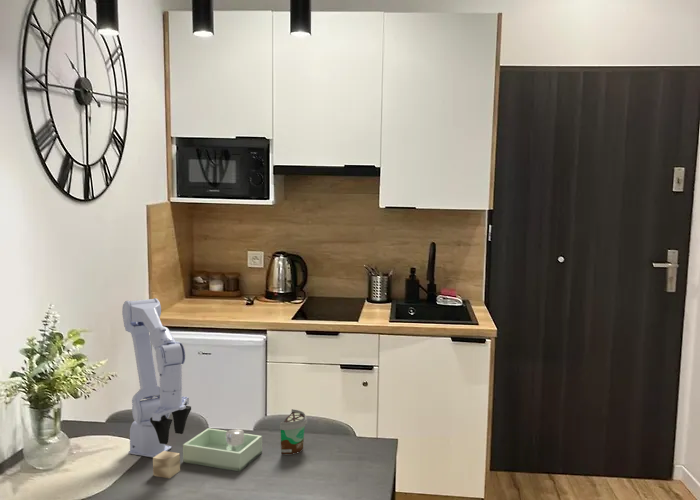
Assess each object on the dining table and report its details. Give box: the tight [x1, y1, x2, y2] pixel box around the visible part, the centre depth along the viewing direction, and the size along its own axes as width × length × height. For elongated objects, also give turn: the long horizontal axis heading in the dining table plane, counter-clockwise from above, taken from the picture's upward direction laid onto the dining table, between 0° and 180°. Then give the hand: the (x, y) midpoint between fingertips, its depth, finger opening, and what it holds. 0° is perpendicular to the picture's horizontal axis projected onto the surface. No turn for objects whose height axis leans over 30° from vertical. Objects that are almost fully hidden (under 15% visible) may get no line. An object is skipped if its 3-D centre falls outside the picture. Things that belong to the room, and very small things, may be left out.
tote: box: [182, 427, 263, 472], centre depth 196 cm, size 18×14×5 cm
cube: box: [152, 450, 181, 479], centre depth 186 cm, size 5×5×5 cm
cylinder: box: [226, 428, 245, 452], centre depth 195 cm, size 5×5×7 cm
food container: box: [279, 409, 308, 455], centre depth 203 cm, size 12×6×10 cm, turn 168°
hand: (171, 438), depth 186 cm, fingers open, 7 cm apart
